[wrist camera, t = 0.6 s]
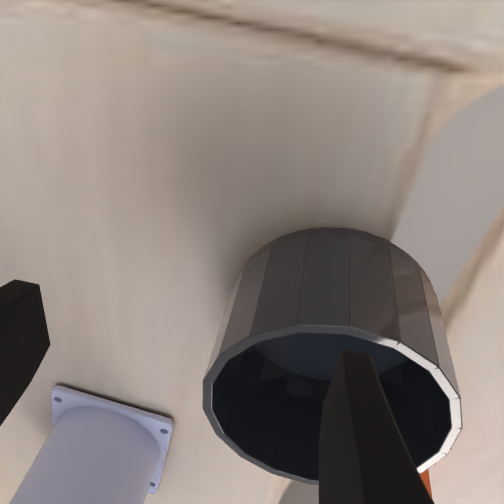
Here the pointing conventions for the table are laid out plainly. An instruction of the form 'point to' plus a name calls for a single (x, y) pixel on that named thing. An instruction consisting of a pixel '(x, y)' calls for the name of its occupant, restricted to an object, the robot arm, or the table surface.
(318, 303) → the desk cup
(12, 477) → the table surface
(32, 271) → the table surface
